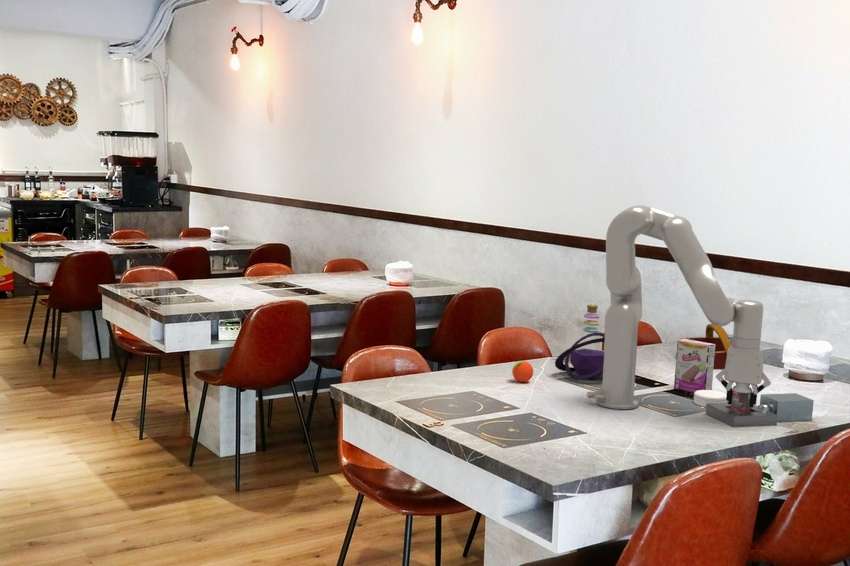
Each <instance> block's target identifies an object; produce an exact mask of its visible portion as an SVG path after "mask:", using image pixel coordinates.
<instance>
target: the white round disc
mask: <svg viewBox="0 0 850 566" xmlns="http://www.w3.org/2000/svg"><path fill="white" fill-rule="evenodd" d="M693 395H694V396H693V403H694V405H696V406H697V405H698V406H699V407H703V408H706V404H707V403H728V401H726V396H727V393H726V392H723V391H719V390H714V389H712V390H698V391H696V392H694V393H693Z"/></svg>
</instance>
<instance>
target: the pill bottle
mask: <svg viewBox="0 0 850 566" xmlns="http://www.w3.org/2000/svg"><path fill="white" fill-rule="evenodd" d="M734 383H735V382H734ZM750 385H751V384H743V383H735V385H734V386H732V399H731V410H733V411H735V412H737V413H743V412H750V409H751V407H750V403H751V394H752V392H753V389H752V387H750Z"/></svg>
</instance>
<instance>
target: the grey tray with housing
mask: <svg viewBox="0 0 850 566" xmlns="http://www.w3.org/2000/svg"><path fill="white" fill-rule="evenodd" d="M814 402H815V401H814V399H812V398H809V397H807V396H803V395H801V394H799V393H796V392H795V393H769V394H767V393H763V394H760V399H759V404H758V405H757V404H756V405H754V406H753V408H751V409H750V412H743V413H737V412H735V411H733V410H731V404H730V405H729V404H728V402H727V403H707V404H706V407H705V415H708V416H710V417H711V418H713V419H716V420H718V421H720V422H722V423H724V424H727V425H729V426H730V427H733V428H737V427H739V428H741V427H743V428H744V427H761V426H762V427H763V426H765V427H766V426H778V425H777V423H778V422H780V423H781V422H798V421H799V422H800V421H801V422H802V421H805V422H806V421H812V420H813V411H814Z"/></svg>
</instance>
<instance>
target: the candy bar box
mask: <svg viewBox="0 0 850 566" xmlns="http://www.w3.org/2000/svg"><path fill="white" fill-rule="evenodd" d="M680 339H681V338H680ZM680 339H678V340H677V344H676V357H675V372H674V382H673V389H674V390H678V391H682V392H688V393H692V394H694V392H696V391H698V390H713V382H714V381H713V378H714V370H715V369H714V357H715V344H711V343H705V342H699V341H694V340H688V339H681V340H680Z"/></svg>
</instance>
